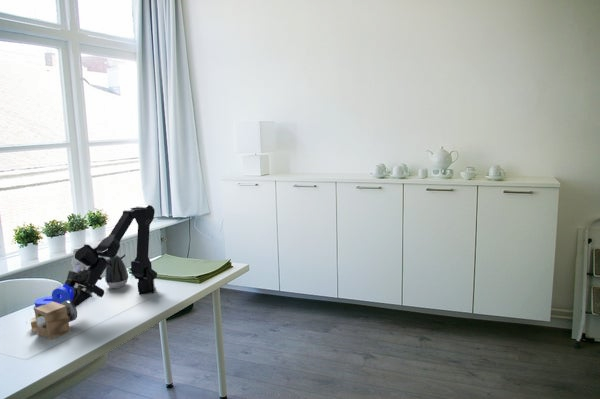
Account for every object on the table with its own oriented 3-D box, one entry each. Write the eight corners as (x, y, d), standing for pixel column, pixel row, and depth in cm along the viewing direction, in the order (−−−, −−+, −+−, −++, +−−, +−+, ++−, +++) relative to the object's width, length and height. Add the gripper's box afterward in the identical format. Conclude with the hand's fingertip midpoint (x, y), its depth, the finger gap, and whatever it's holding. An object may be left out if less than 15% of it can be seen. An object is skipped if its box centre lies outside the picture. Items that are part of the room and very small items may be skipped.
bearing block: (57, 326, 172) (53, 301, 170) (69, 331, 167) (66, 306, 165) (38, 333, 166) (34, 308, 165) (50, 339, 161) (46, 313, 160)
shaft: (67, 317, 174) (64, 298, 173) (78, 322, 170) (75, 302, 169) (34, 330, 165) (31, 309, 163) (46, 335, 160) (42, 314, 159)
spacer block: (44, 325, 173) (42, 315, 173) (44, 329, 170) (42, 319, 169) (32, 328, 172) (30, 318, 171) (32, 332, 168) (30, 322, 167)
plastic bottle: (78, 289, 212) (72, 248, 208) (93, 288, 212) (87, 247, 209) (72, 294, 205) (66, 252, 202) (88, 293, 206) (82, 251, 202)
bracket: (81, 301, 197) (78, 281, 195) (68, 309, 189) (65, 288, 187) (44, 300, 200) (41, 281, 199) (30, 308, 192) (27, 288, 191)
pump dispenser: (133, 285, 213) (130, 254, 211) (112, 291, 206) (108, 259, 204) (123, 280, 220) (120, 250, 218) (102, 287, 213) (98, 256, 210)
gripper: (66, 258, 178) (41, 294, 171) (93, 264, 168) (68, 303, 161) (87, 271, 186) (65, 306, 179) (114, 278, 176) (91, 315, 169)
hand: (71, 307), depth 172 cm, fingers closed, pressing on shaft
